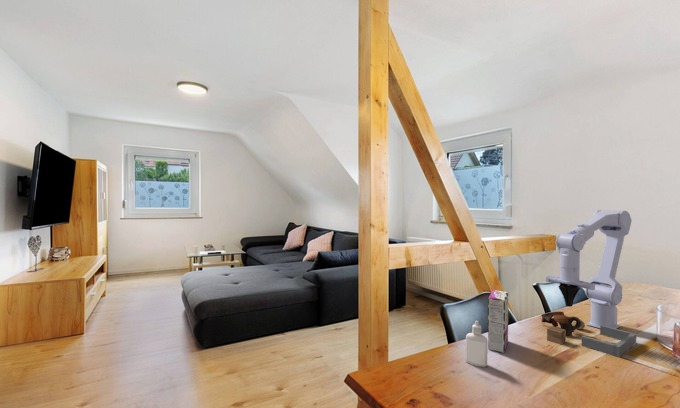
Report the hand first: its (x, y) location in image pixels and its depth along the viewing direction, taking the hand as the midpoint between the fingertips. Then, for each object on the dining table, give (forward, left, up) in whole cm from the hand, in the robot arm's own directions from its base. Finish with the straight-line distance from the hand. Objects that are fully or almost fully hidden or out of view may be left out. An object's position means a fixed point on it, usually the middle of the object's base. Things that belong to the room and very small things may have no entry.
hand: (569, 305), depth 116 cm
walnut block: (+11, 0, -10) cm, 15 cm away
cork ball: (-8, 0, -10) cm, 12 cm away
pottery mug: (+1, -2, -10) cm, 10 cm away
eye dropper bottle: (+48, -6, -10) cm, 50 cm away
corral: (-1, +10, -10) cm, 14 cm away
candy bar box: (+31, -9, -10) cm, 34 cm away
